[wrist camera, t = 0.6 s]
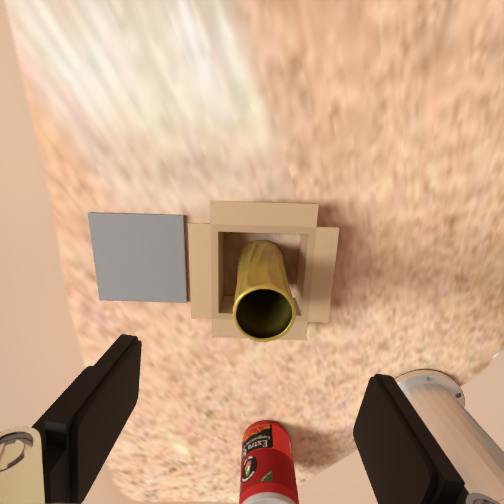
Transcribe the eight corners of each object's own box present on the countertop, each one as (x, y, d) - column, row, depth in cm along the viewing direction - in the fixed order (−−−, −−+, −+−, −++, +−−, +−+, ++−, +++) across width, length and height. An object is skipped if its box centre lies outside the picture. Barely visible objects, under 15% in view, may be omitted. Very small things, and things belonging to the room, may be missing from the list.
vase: (292, 269, 36) (314, 326, 22) (253, 291, 37) (251, 358, 23) (268, 231, 35) (277, 266, 21) (229, 255, 36) (212, 303, 22)
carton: (317, 320, 38) (326, 340, 33) (200, 316, 38) (191, 336, 33) (329, 200, 34) (342, 204, 29) (196, 197, 34) (186, 200, 29)
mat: (187, 301, 37) (186, 302, 37) (101, 298, 38) (99, 300, 37) (184, 215, 34) (182, 215, 34) (90, 212, 34) (87, 212, 34)
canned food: (266, 410, 42) (269, 488, 32) (300, 439, 44) (314, 522, 33) (232, 437, 44) (224, 520, 33) (266, 463, 45) (270, 551, 35)
